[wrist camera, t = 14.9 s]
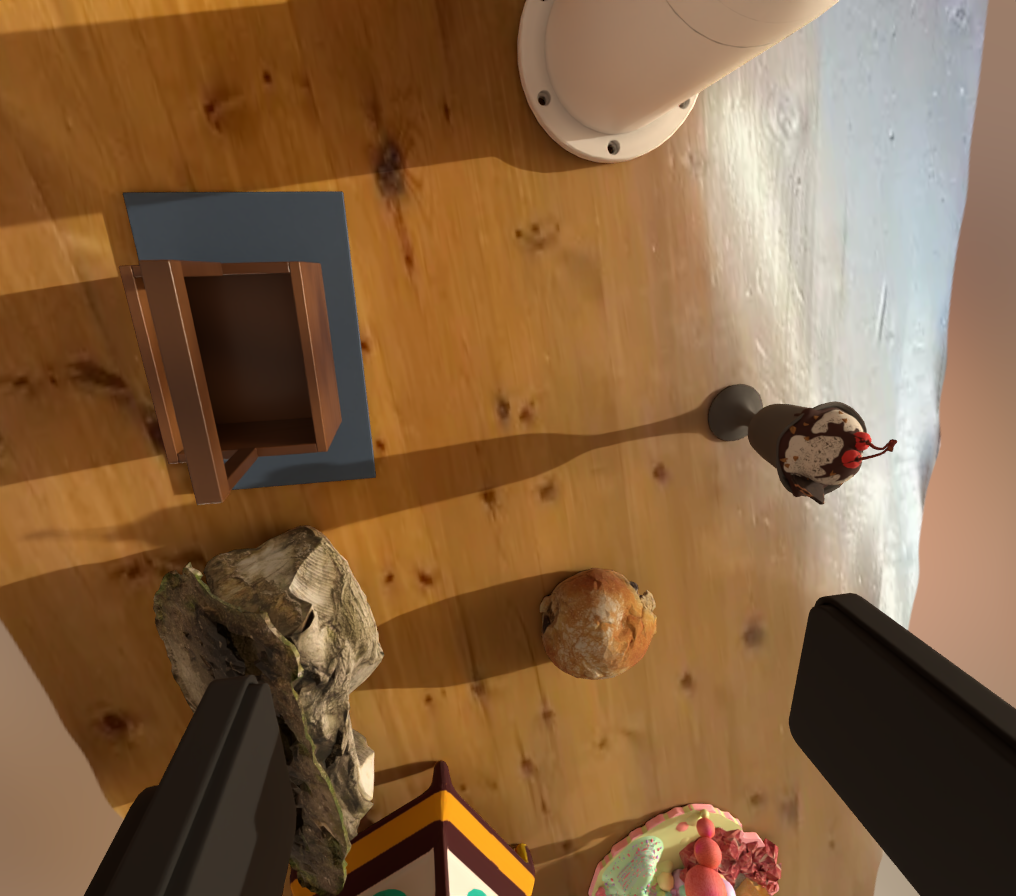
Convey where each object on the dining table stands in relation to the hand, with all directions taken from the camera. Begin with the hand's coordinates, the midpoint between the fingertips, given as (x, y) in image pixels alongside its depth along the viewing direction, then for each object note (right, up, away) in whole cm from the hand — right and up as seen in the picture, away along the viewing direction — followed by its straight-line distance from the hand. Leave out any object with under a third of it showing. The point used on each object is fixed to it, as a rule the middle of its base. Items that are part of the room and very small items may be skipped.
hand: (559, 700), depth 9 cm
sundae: (+18, +7, +36) cm, 41 cm away
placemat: (-18, +11, +28) cm, 35 cm away
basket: (-18, +11, +27) cm, 34 cm away
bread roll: (+7, -11, +40) cm, 42 cm away
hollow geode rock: (-19, -14, +36) cm, 43 cm away
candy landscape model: (+20, -48, +55) cm, 76 cm away
